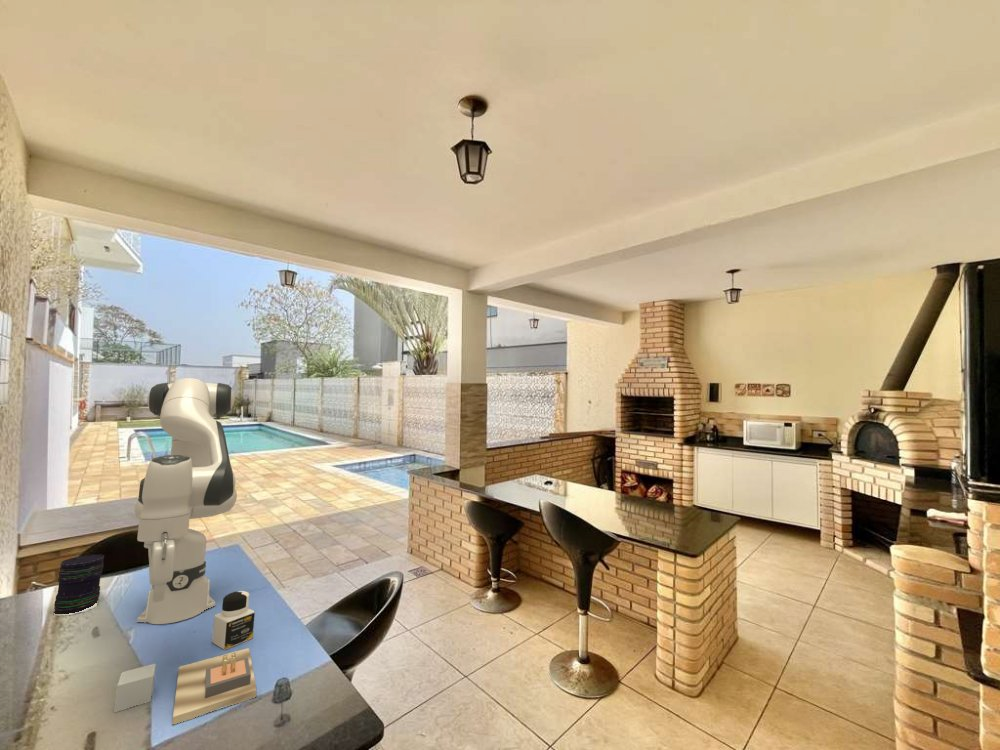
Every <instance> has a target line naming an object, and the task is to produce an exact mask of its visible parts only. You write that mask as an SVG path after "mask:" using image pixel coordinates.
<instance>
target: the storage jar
mask: <svg viewBox="0 0 1000 750" xmlns="http://www.w3.org/2000/svg"><path fill="white" fill-rule="evenodd" d="M104 558H105V555H104V554H98V553H97V554H88V555H81V556H74V557H71V558H68V559H67V558H66V559H64V560H62V561H61V562H60V565H59V566H60V567H59V572H58V578H57V580H58V581H57V583H58V587H57V594H56V595H55V601H54V609H53V610H54V611H53V614H54V613H55V614H69V613H75V612H79V611H82V610H84V609H86V608H89V607H91V606H93V605H94V604H95V603H97V601H99V598H100V594H101V592H100V591H101V585H100V583H101V576H102V574H103V569H104Z"/></svg>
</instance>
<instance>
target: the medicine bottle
mask: <svg viewBox="0 0 1000 750" xmlns="http://www.w3.org/2000/svg"><path fill="white" fill-rule="evenodd" d="M249 600H250V593H249V592H248V591H244V590H238V591H233V592H230V593H228V594H227V595H225V596H224V597H223V598H222V607H221V612H219V613H216V614H215V615H214V618H213V619H214V620H213V626H212V627H213V629H212V638H211V642H212V643H213V644H214V645H216V646H217V647H219V648H220V649H222V650H223V651H227V650H229V649H231V648H233V647H235V646H238V645H240V644H242V643H246V642H247V641H250V640H253V638H254V628H255V627H254V625H255V616H256V615H255V613H256V612H255V611H254V610H253V609H251V608H249V602H250V601H249Z"/></svg>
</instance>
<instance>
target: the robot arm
mask: <svg viewBox="0 0 1000 750" xmlns="http://www.w3.org/2000/svg"><path fill="white" fill-rule="evenodd" d="M235 396H236V394H235V393H234V390H233V388H232V387H231V386H230V385H229V384H226V383H222V382H218V383H215V382H204V381H203V380H201V379H198V378H194V377H184V378H180V379H178V380H176V381H175V382H173V383H170V382H162V383H157V384H154V386H152V387H151V388H150V391H149V392H148V394H147V396H146V402H147V403H146V404H147V407H148V409H149V411H150V413H152V414H153V415H154V416H158V417H159V421H160V422H159V423H160V427H161V429H163V431H164V432H165V433H166V434H167V435H169V436H170V437H172V438H171V448H170V455H169V454H168V455H162V456H161V455H160V456H157V457H154V458H152V459H151V460H150V461H149V463H148V466H147V469H146V472H145V477H144V478H142V479H141V480H140V482H139V490H138V499H137V500H136V502H135V505H134V514H135V516H136V518H137V520H138V521H139V522H138V530H137V538H136V539H137V542H142V543H144V544H143V547H144V548H145V549H148V551H147V552H148V553H147V554H148V562H149V563H148V564H149V565H148V566H149V567H148V569H149V571H148V572H149V574H148V575H149V584H150V585H151V586H152V588H151V589H150V590H149V591H148V595H147V603H146V608H145V609H144V611H142V612H141V614H140V615H139V616H138V617H137V618H136V622H137V621H138V622H144V623H146V622H149V623H148V624H153V625H164V624H172V623H177V622H180V621H181V622H182V621H186V620H188V619H191V618H193V617H196V616H198V615H200V614H202V613H203V612H205V611H207V610H209V609H211V607H212V608H214V607H215V606H216V601H215V600H214V599H213V598H212V596H211V595H210V587H211V586H210V585H211V584H210V583H211V582H210V581H211V580H210V579H209V578H208V577H206V575H205V574H206V570H207V562H206V561H205V559H206V549H207V537H206V535H205V534H204V533H203V532H201V531H198V530H195V529H192V528H190V520H194V519H201V518H202V519H203V518H209V517H214V516H218V515H221V514H224V513H228V512H230V510H232V508H233V507H235V504H236V502H237V499H238V493H237V489H236V477H235V473H234V471H233V467H232V465H231V460H230V459H231V458H230V454H229V448H228V444H227V439H226V435H225V430H224V427H223V424H222V423H221V422H220V421H219V420H220V419H221V417H223V416H225V415H227V414H229V413H230V411H231V410H232V408H233V406H234V405H235V401H236V397H235ZM231 412H232V411H231ZM214 416H216V419H217V420H216V419H215V418H214ZM213 606H214V607H213ZM208 608H209V609H208ZM206 609H207V610H206ZM204 610H205V611H204ZM201 612H202V613H201ZM138 622H137V623H138Z"/></svg>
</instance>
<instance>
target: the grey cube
mask: <svg viewBox="0 0 1000 750" xmlns="http://www.w3.org/2000/svg"><path fill="white" fill-rule="evenodd" d="M156 665H157V663H152V664H148V665H144V666H141V667H136V668H133V669H132V668H131V669H128V670H126V671H122V672H121V674H120V677H119V680H118V682H117V684H116V693H115V701H114V709H113V713H117V712H121V711H124V710H128V709H131V708H130V707H132V708H134V707H133V706H135V707H137V706H136V705H138V706H141V705H140V704H142V705H144V704H143V703H145V702H148V701H150V702H151V700H152V697H151V696H153V692H152V691H154V686H155V685H154V684H155V675H156V667H157V666H156ZM148 703H149V702H148ZM145 704H146V703H145ZM127 708H128V709H127Z"/></svg>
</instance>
